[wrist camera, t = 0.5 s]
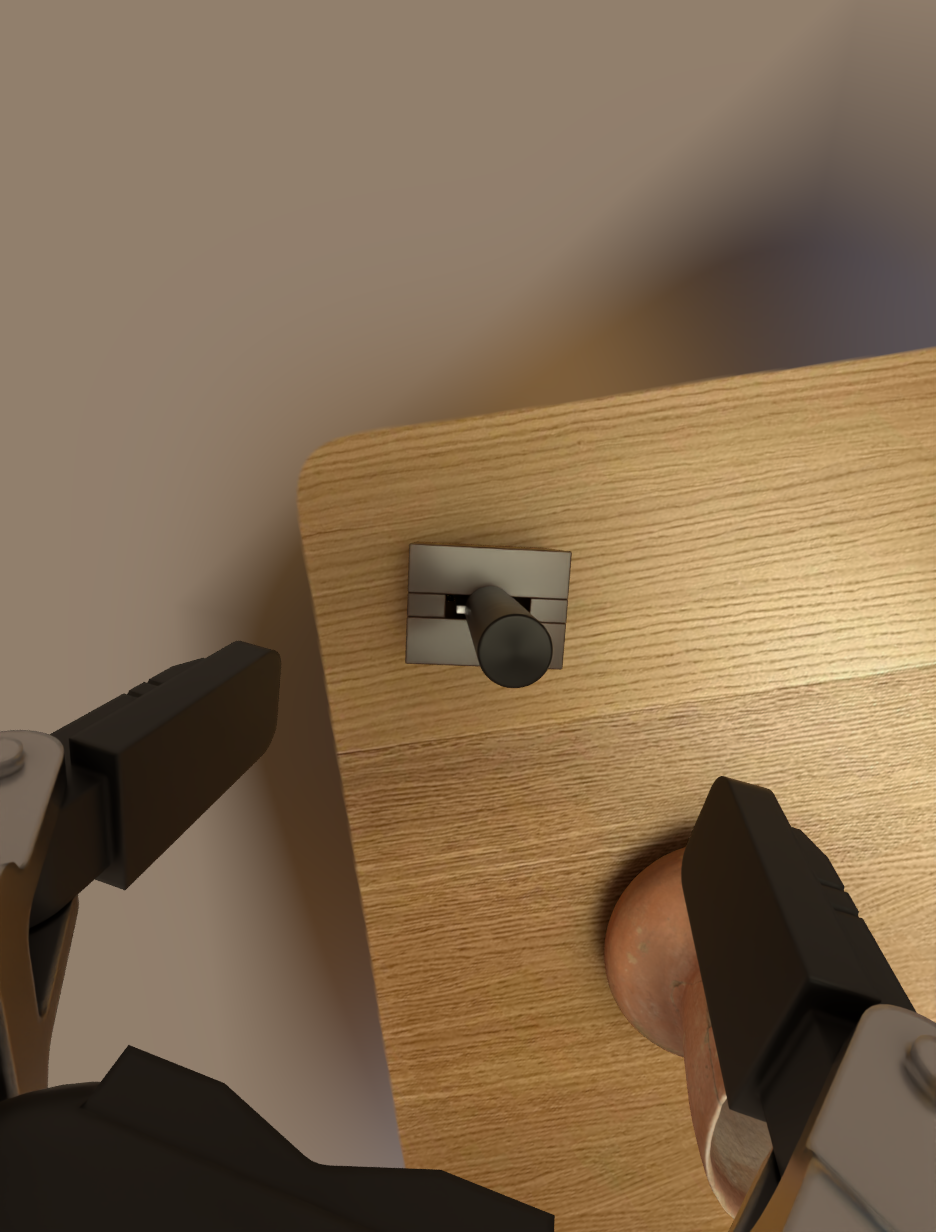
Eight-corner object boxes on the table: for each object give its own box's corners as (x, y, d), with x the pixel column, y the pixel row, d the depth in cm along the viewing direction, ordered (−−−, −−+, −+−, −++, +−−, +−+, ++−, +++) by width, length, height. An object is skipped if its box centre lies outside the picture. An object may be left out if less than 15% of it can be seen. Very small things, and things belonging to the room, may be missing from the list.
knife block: (416, 541, 33) (409, 543, 26) (544, 548, 33) (572, 551, 26) (412, 637, 34) (405, 663, 27) (538, 642, 34) (562, 669, 27)
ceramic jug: (582, 820, 36) (672, 1003, 22) (791, 793, 37) (1008, 955, 23) (602, 1047, 39) (693, 1337, 25) (795, 1019, 39) (991, 1288, 25)
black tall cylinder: (453, 572, 33) (466, 611, 16) (504, 575, 33) (569, 616, 17) (451, 610, 34) (462, 687, 17) (502, 612, 34) (563, 691, 17)
